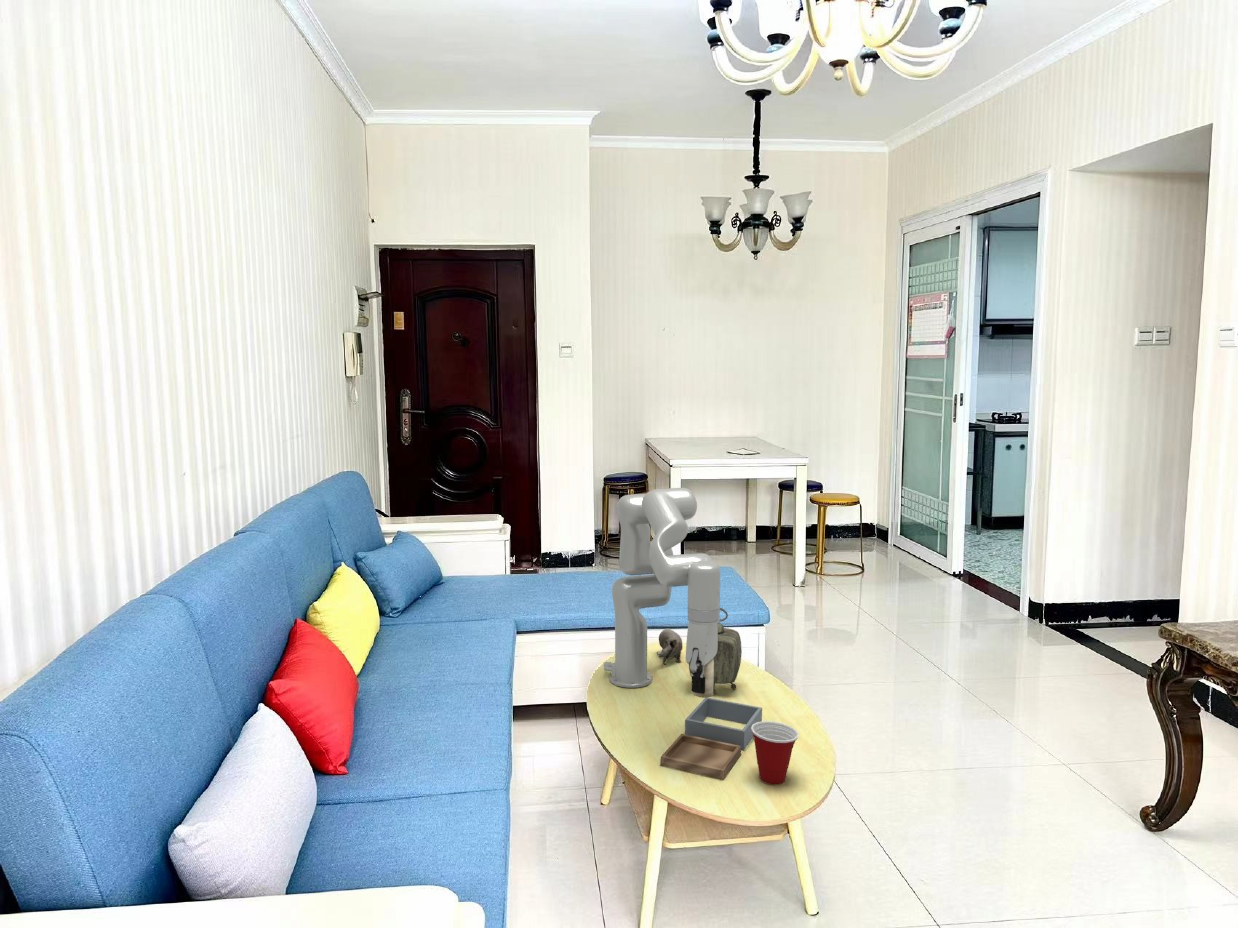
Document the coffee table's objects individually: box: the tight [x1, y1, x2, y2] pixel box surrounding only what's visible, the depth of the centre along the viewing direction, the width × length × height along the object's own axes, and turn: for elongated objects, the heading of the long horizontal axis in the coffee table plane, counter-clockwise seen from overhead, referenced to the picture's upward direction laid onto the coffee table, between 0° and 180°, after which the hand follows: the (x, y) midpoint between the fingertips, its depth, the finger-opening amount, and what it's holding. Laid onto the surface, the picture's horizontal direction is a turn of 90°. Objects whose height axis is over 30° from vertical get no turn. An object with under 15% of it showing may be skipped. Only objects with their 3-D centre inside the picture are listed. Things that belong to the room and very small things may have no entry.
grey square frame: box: [684, 697, 763, 752], centre depth 220 cm, size 16×16×5 cm
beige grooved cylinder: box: [691, 659, 714, 698], centre depth 202 cm, size 5×5×8 cm
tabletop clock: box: [688, 607, 742, 695], centre depth 245 cm, size 14×9×25 cm, turn 76°
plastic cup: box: [751, 720, 800, 786], centre depth 196 cm, size 11×11×12 cm
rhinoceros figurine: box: [656, 628, 683, 667], centre depth 271 cm, size 8×14×15 cm
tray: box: [659, 733, 742, 781], centre depth 205 cm, size 16×14×2 cm
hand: (702, 687), depth 203 cm, fingers closed on beige grooved cylinder, 5 cm apart
